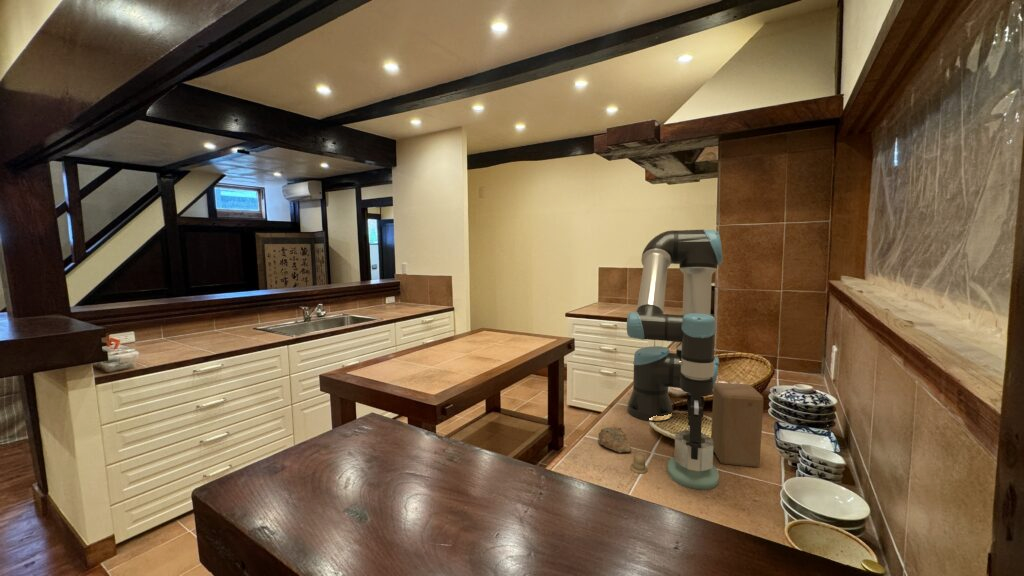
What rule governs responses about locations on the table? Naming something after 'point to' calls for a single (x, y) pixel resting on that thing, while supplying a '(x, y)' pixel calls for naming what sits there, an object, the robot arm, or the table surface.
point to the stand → (639, 463)
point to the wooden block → (737, 424)
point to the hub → (693, 476)
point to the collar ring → (682, 450)
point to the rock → (614, 439)
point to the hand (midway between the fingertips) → (692, 459)
